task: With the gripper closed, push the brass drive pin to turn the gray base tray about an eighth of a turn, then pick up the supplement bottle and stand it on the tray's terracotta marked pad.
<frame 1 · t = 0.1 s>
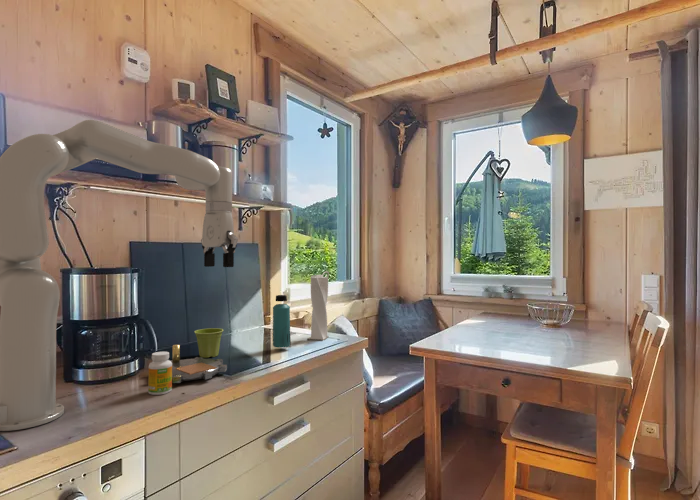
hand: (218, 266, 120), 31 cm above the worktop, tool pointing down, fingers open, 9 cm apart
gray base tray: (188, 360, 117), point 4 cm above the worktop, hinge at 0.0°
skyscraper: (319, 339, 168), on the worktop
plant pot: (208, 356, 140), on the worktop
beverage bottle: (281, 350, 149), on the worktop
supplement bottle: (160, 392, 103), on the worktop
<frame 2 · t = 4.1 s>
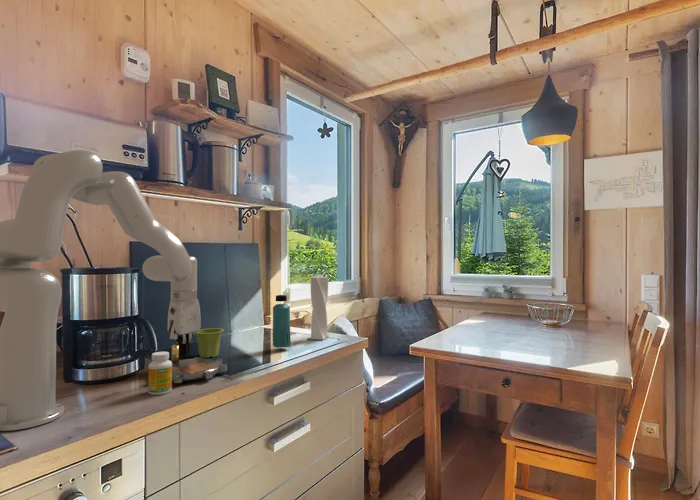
hand: (183, 355, 125), 4 cm above the worktop, tool pointing down, fingers closed
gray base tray: (188, 360, 117), point 4 cm above the worktop, hinge at 1.6°
everything else where it was.
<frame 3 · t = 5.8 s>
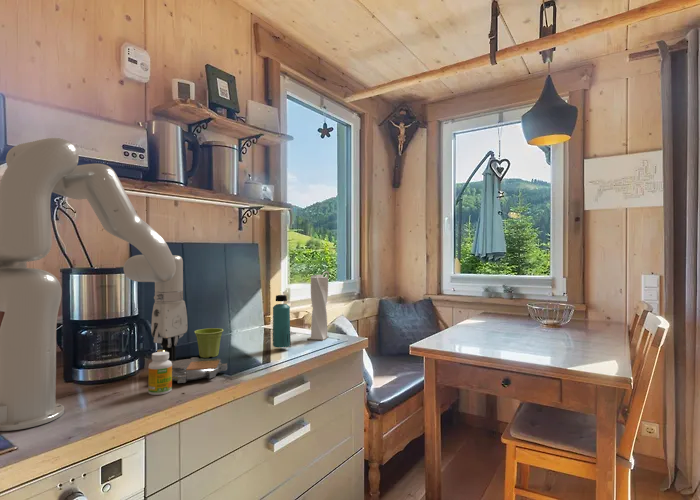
hand: (169, 359, 119), 4 cm above the worktop, tool pointing down, fingers closed
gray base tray: (188, 360, 117), point 4 cm above the worktop, hinge at 51.8°, touching gripper
everything else where it was.
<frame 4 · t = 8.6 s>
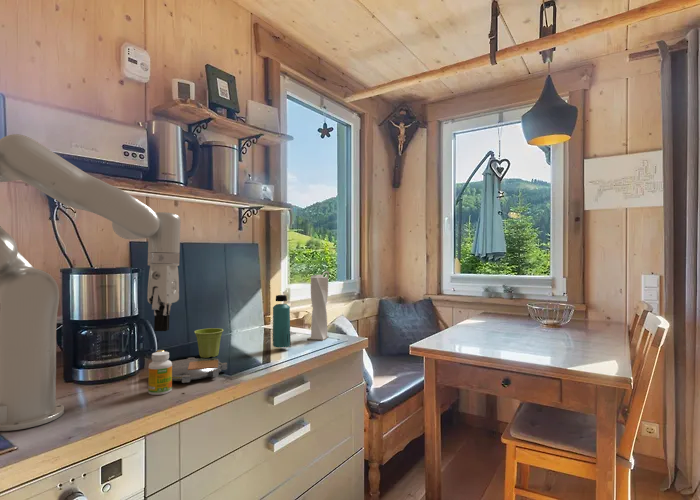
hand: (161, 330, 106), 15 cm above the worktop, tool pointing down, fingers closed
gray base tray: (188, 360, 117), point 4 cm above the worktop, hinge at 57.7°
everything else where it was.
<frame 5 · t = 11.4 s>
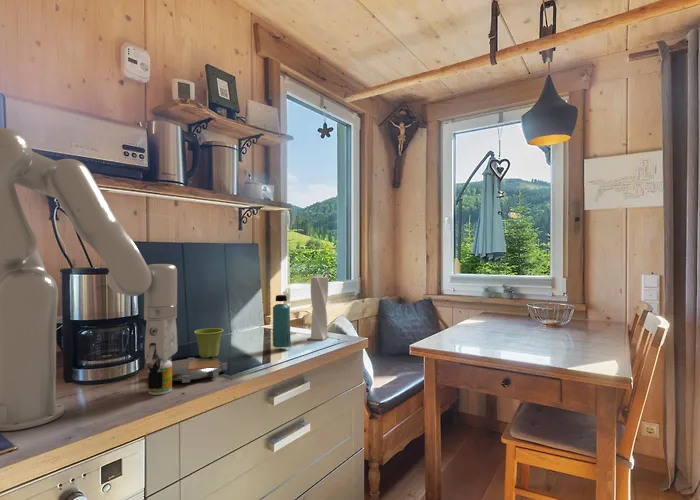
hand: (160, 383, 103), 2 cm above the worktop, tool pointing down, fingers closed on supplement bottle, 5 cm apart
supplement bottle: (160, 392, 103), on the worktop, touching gripper
everything else where it was.
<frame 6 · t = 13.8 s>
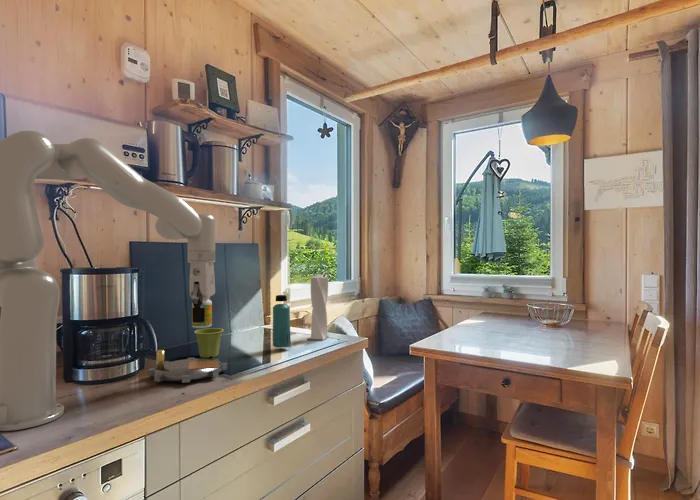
hand: (201, 319, 117), 16 cm above the worktop, tool pointing down, fingers closed on supplement bottle, 5 cm apart
supplement bottle: (202, 327, 117), point 14 cm above the worktop, touching gripper
everything else where it was.
when the fingers open (6 cm above the worktop, at t = 16.0 s): supplement bottle drops 1 cm, resting on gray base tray.
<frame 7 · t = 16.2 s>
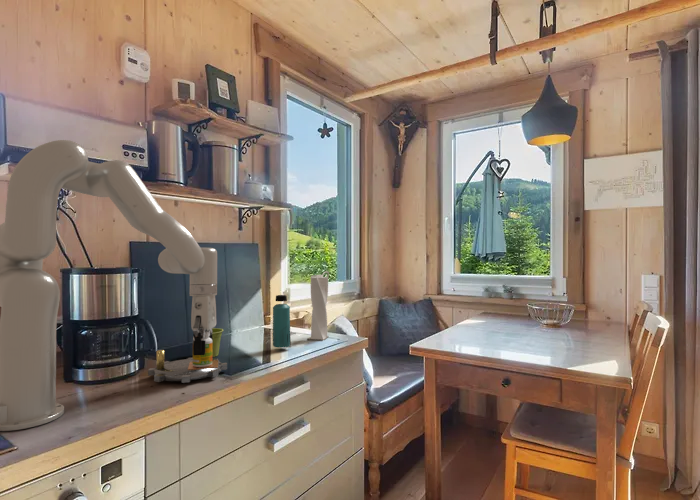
hand: (203, 351, 117), 7 cm above the worktop, tool pointing down, fingers open, 7 cm apart
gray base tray: (188, 360, 117), point 4 cm above the worktop, hinge at 57.5°, touching supplement bottle
supplement bottle: (202, 365, 117), point 3 cm above the worktop, touching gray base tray
everything else where it was.
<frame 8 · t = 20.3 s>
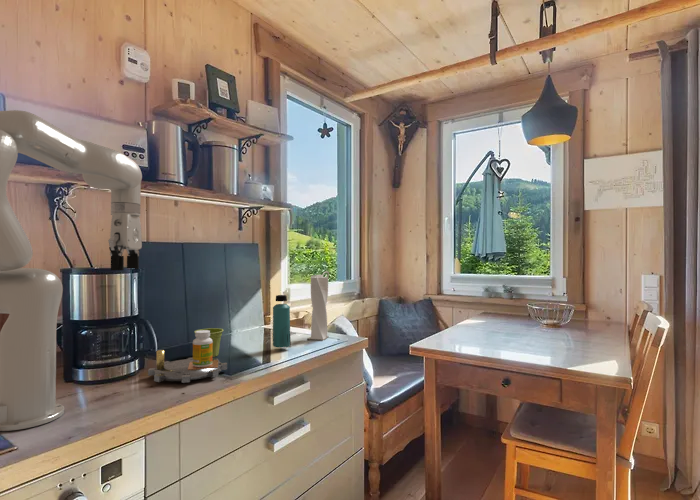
hand: (125, 269, 117), 30 cm above the worktop, tool pointing down, fingers open, 9 cm apart
nothing on the worktop moved.
at the end: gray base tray at +57° (first picture: +0°); supplement bottle inside the target area (0.2 cm from its centre), point 2.6 cm above the worktop; supplement bottle tilted 0° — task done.
